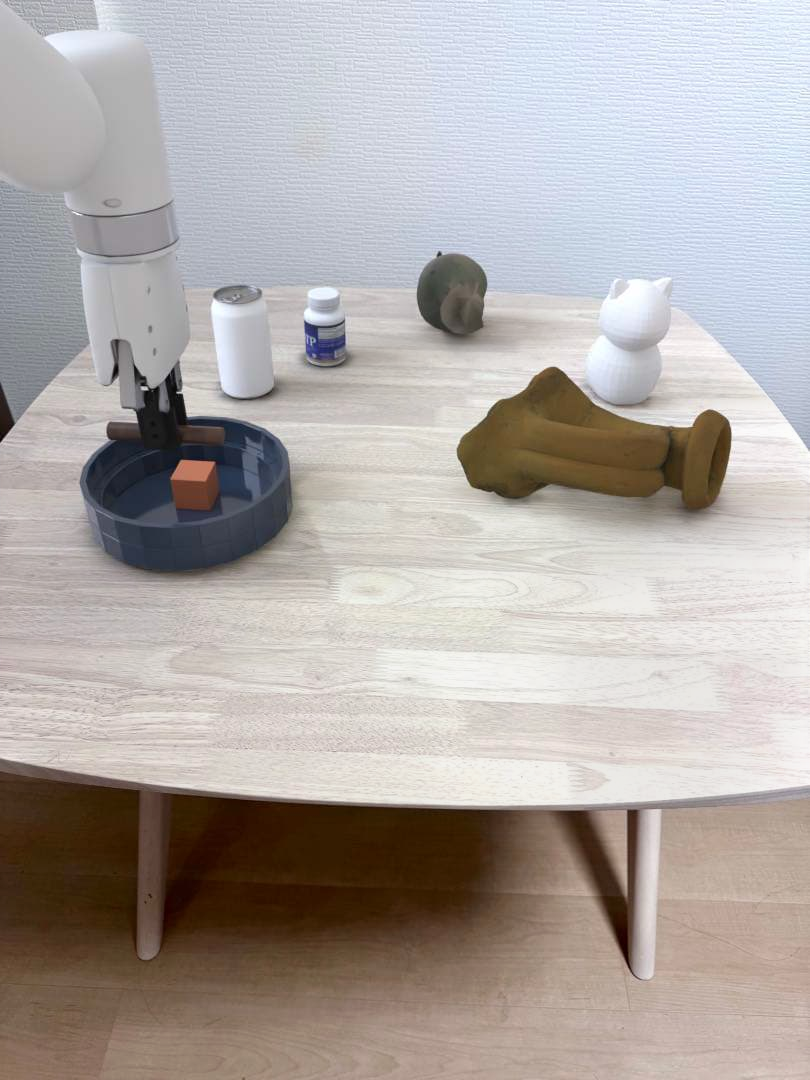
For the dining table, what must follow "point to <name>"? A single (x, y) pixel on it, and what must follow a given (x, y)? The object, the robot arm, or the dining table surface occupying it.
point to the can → (242, 341)
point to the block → (195, 485)
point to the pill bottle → (324, 328)
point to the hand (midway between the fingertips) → (166, 440)
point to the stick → (187, 433)
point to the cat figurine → (630, 340)
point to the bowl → (183, 534)
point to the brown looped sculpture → (591, 448)
